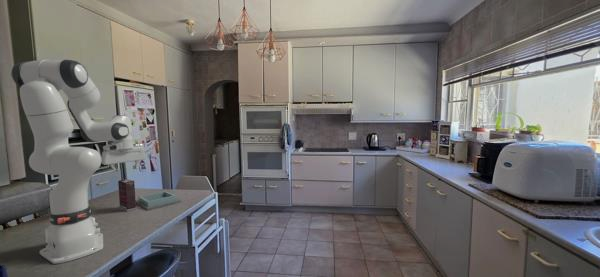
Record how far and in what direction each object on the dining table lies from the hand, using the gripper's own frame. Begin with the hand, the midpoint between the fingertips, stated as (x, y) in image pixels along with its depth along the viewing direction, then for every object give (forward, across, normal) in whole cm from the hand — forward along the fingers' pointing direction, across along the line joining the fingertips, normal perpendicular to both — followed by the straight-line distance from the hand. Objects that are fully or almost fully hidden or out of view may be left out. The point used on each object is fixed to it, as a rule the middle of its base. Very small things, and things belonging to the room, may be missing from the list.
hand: (125, 170), depth 141 cm
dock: (+22, -14, +2) cm, 26 cm away
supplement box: (+22, 0, 0) cm, 22 cm away
